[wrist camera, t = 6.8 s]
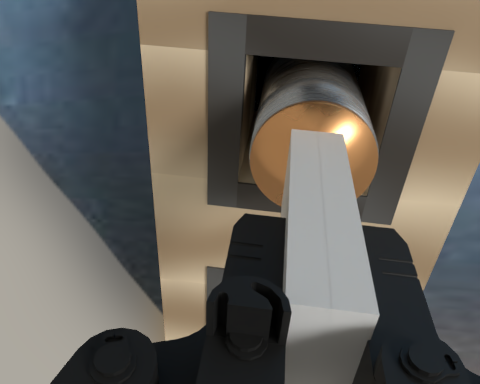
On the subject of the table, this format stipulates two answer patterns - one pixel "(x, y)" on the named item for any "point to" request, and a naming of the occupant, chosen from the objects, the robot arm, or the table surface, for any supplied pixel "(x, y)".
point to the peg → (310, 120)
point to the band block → (243, 115)
